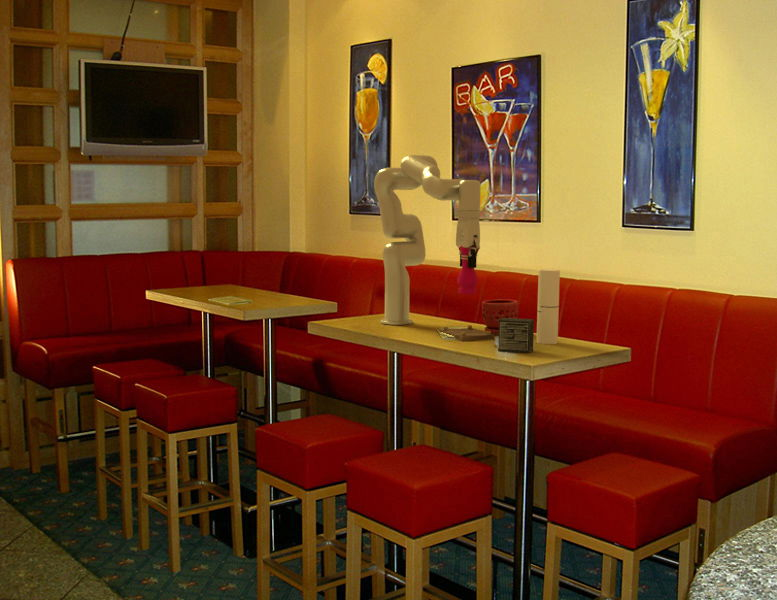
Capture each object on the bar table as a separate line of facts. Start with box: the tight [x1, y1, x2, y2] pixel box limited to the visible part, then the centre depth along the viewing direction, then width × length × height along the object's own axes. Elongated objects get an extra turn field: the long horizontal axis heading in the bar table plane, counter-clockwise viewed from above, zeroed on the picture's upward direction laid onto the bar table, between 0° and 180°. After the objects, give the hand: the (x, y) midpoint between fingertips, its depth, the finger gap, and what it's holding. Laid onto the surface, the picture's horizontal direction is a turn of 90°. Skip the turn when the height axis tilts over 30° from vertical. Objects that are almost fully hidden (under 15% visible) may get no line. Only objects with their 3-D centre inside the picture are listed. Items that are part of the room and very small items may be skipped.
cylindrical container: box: [536, 268, 561, 345], centre depth 321 cm, size 7×7×25 cm
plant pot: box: [481, 298, 519, 336], centre depth 342 cm, size 13×13×12 cm
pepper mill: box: [457, 246, 479, 295], centre depth 331 cm, size 7×7×20 cm
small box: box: [497, 318, 535, 354], centre depth 304 cm, size 11×6×10 cm, turn 69°
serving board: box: [439, 324, 496, 342], centre depth 333 cm, size 17×13×3 cm
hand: (468, 266), depth 331 cm, fingers closed on pepper mill, 5 cm apart
